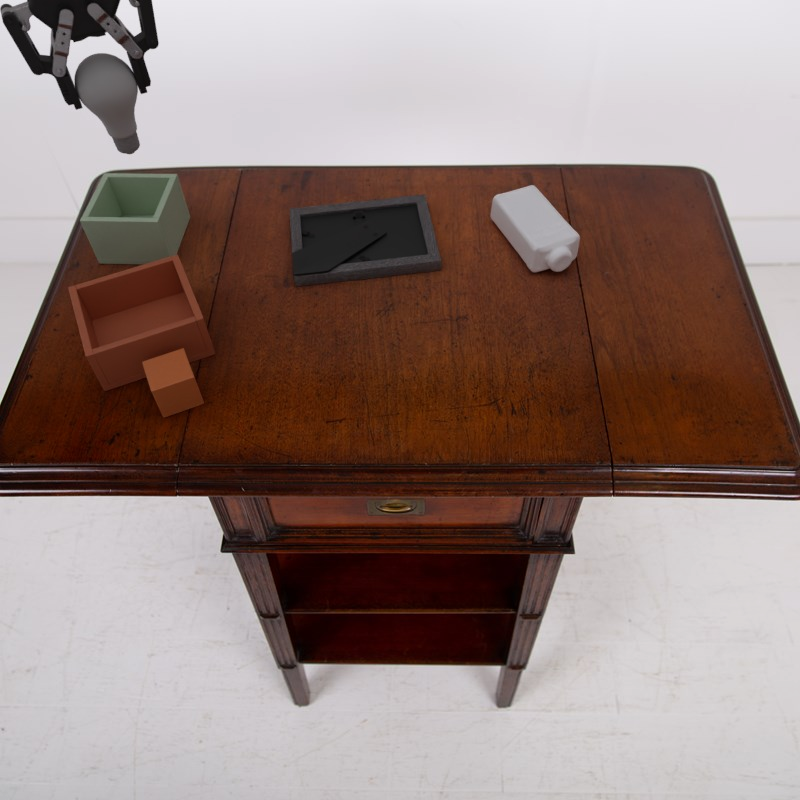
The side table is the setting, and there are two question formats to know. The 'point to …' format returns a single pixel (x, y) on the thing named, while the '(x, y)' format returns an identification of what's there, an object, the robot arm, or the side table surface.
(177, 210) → the sage bin
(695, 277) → the side table surface
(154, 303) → the terracotta bin
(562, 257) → the white bottle
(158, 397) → the block
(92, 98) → the lightbulb
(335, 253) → the picture frame
